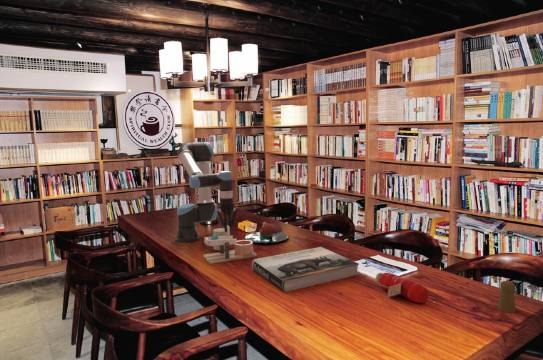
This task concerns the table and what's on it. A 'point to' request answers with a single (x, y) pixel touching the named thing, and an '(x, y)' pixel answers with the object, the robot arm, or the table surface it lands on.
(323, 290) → the table surface
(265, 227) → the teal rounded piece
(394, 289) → the red elongated piece
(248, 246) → the cup
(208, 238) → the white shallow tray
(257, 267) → the book
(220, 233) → the can
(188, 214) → the robot arm
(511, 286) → the green chess rook
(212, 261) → the stand
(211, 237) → the ball
